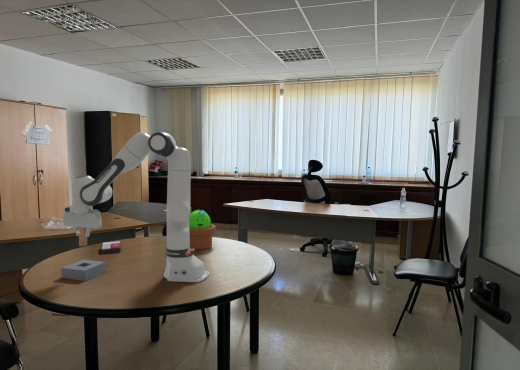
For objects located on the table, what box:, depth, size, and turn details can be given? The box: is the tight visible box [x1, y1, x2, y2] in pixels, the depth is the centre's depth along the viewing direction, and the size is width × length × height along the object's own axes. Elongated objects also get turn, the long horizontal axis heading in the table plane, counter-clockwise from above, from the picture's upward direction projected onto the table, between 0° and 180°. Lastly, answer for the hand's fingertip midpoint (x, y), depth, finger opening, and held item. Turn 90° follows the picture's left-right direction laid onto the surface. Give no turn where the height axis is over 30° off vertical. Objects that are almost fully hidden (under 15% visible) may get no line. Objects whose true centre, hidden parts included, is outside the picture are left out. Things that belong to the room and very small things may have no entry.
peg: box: [78, 227, 88, 247], centre depth 168 cm, size 4×4×12 cm
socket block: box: [60, 259, 107, 282], centre depth 170 cm, size 14×14×5 cm
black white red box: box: [100, 240, 122, 255], centre depth 215 cm, size 11×4×15 cm
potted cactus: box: [189, 209, 217, 250], centre depth 226 cm, size 22×22×25 cm
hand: (83, 236), depth 168 cm, fingers closed on peg, 3 cm apart
